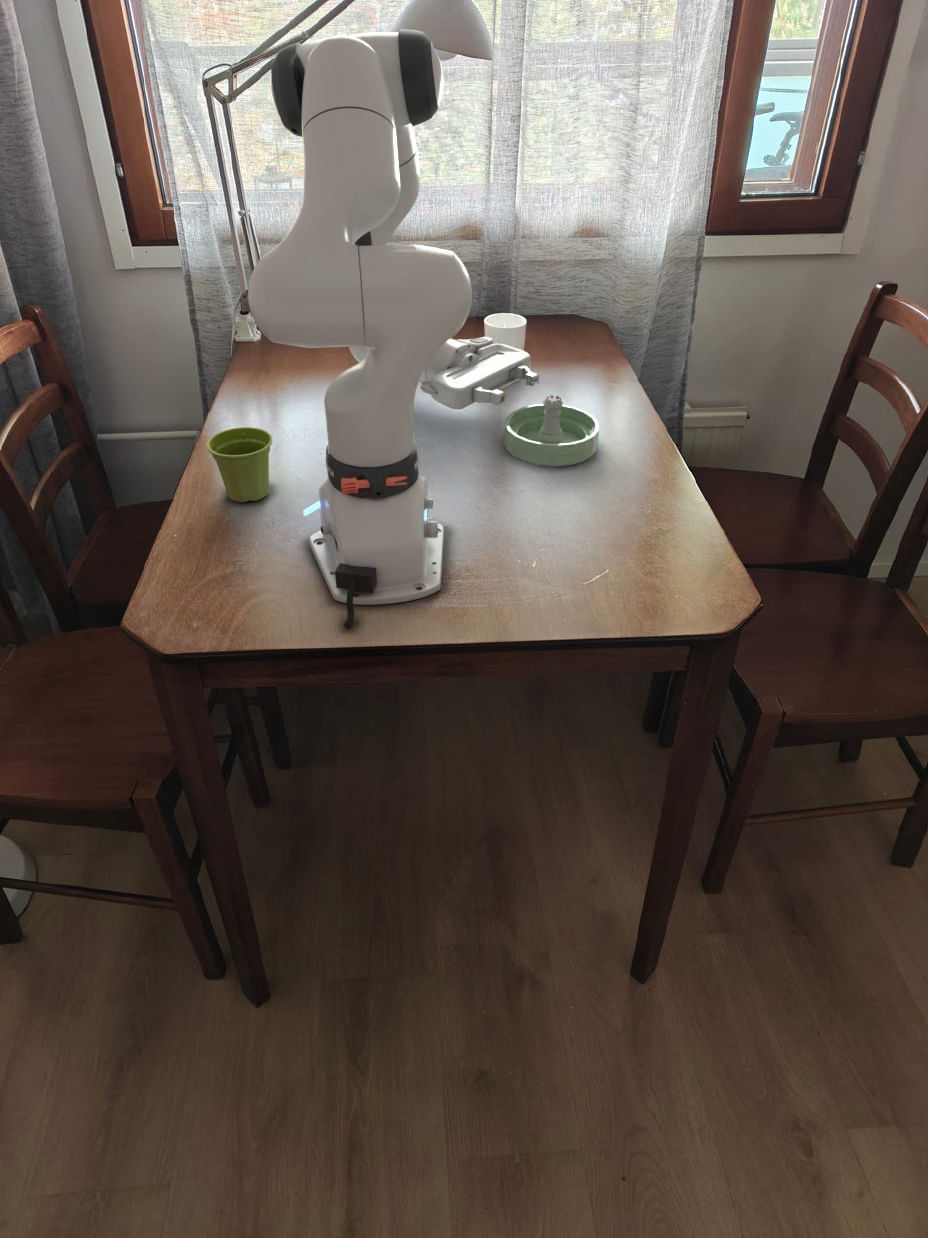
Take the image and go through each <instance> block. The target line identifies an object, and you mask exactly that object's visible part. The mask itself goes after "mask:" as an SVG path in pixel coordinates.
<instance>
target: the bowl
mask: <svg viewBox="0 0 928 1238" xmlns="http://www.w3.org/2000/svg"><path fill="white" fill-rule="evenodd" d="M544 410H545V406H544V405H543V403H540V404H532V405H526V406H522V407H520V408H518V409H516V410H513V411H512V412H510V413H509V414H508V415H507V416H506V417H505V421H504V435H503V436H504V437H503V438H504V439H503V444H504V447H505V449H506V451H507V452H508V453H509V454H511V455H512V456H513V457H515V458H517V459H519V460H521V461H523V462H525V463H530V464H534V465H538V466H550V467H560V466H561V467H563V466H572V465H576V464H579V463H582V462H584V461H586V460H588V459H590V458H592V457H593V456H594V454H595V453H596V452H597V450H598V443H599V433H600V423H599V421H598V420H597V418H596V417H595V416H594V415H592V414H590V413H589V412H587V411H585V410H583V409H581V408H578V407H575V406H570V405H566V404H563V405H562V407H561V408H560V411H561V414H560V417H559V421H560V428H561V431H562V432H563V435H564V437H563V441H564V442H563V444H549V443H540V442H537V438H538V432H539V431H540V430H541V427H542V426H543V422H544V416H545V414H544Z"/></svg>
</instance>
